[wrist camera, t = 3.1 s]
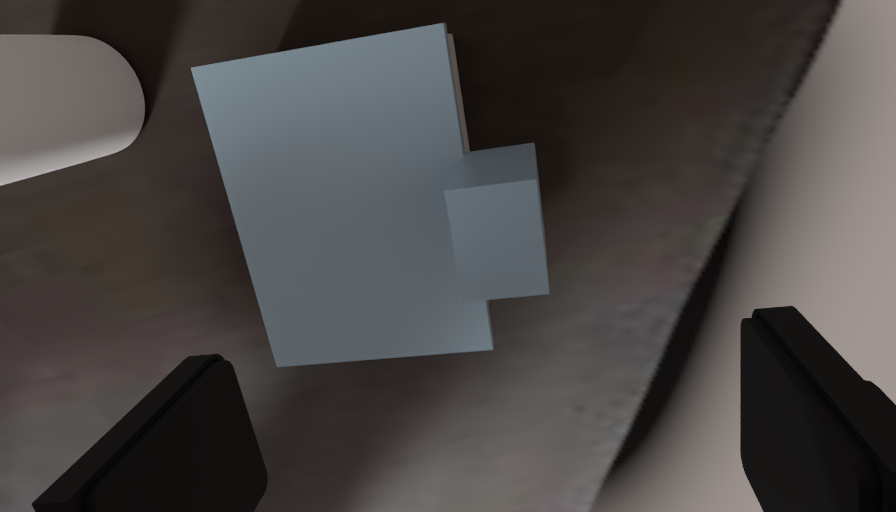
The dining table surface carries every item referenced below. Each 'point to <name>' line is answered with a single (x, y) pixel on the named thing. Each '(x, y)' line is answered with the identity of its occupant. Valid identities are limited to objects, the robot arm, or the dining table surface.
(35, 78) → the can
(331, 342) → the lid
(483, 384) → the dining table surface
